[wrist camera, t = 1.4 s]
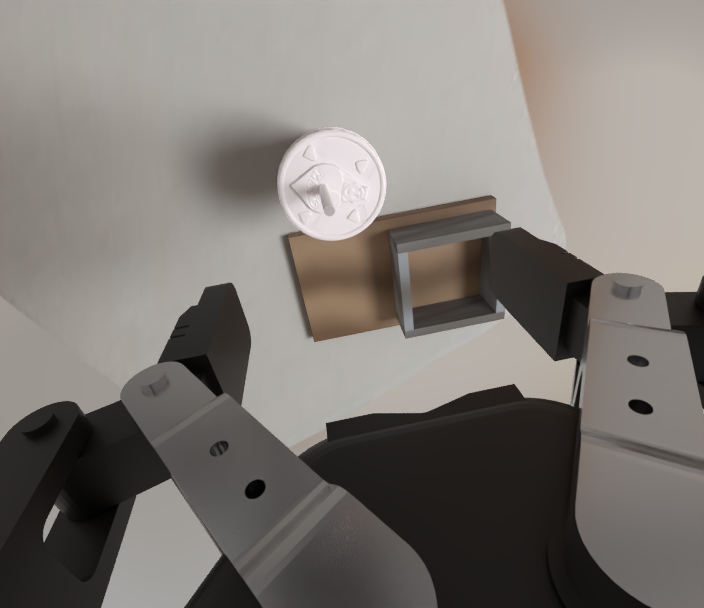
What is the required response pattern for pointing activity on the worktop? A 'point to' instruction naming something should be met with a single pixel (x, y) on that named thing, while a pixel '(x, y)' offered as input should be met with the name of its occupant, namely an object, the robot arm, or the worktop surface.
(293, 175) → the smoothie
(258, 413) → the worktop surface
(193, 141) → the worktop surface
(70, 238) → the worktop surface
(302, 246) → the caddy
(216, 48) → the worktop surface
